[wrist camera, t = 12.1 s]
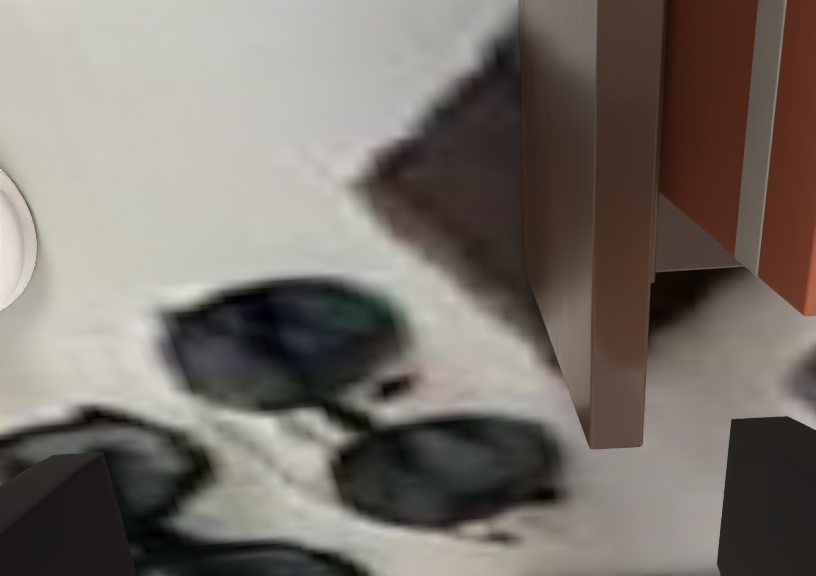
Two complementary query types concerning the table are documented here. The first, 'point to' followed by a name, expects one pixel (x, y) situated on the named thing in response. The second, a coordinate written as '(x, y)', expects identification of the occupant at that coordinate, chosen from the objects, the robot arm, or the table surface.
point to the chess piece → (14, 242)
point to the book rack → (600, 198)
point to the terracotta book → (746, 133)
